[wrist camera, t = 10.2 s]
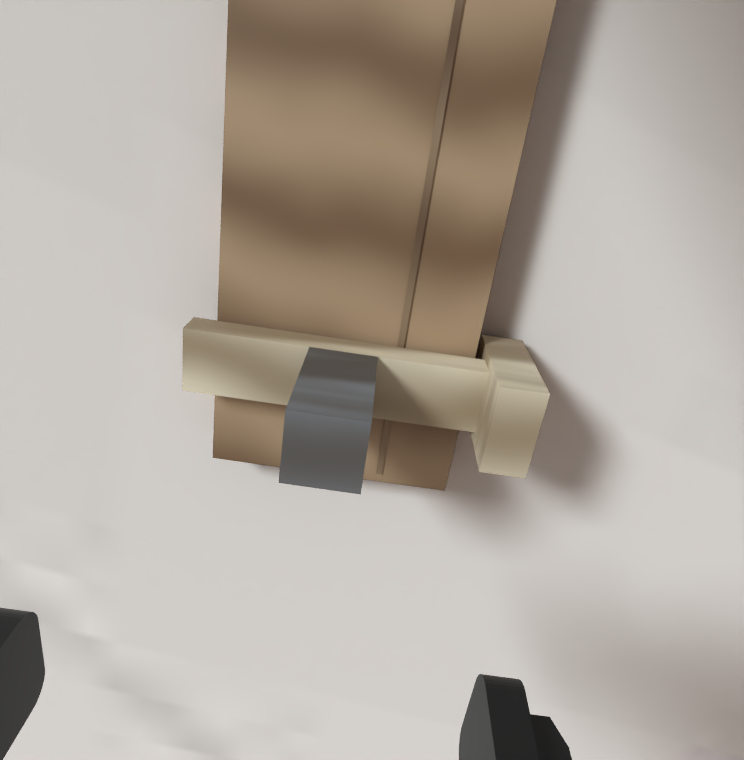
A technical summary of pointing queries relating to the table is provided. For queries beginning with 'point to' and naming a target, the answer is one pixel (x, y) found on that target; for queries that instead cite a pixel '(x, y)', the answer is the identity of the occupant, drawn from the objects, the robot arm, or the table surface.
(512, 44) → the board
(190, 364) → the cream flanged bar
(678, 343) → the table surface
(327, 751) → the table surface
